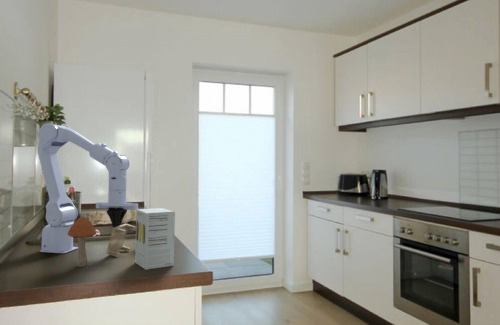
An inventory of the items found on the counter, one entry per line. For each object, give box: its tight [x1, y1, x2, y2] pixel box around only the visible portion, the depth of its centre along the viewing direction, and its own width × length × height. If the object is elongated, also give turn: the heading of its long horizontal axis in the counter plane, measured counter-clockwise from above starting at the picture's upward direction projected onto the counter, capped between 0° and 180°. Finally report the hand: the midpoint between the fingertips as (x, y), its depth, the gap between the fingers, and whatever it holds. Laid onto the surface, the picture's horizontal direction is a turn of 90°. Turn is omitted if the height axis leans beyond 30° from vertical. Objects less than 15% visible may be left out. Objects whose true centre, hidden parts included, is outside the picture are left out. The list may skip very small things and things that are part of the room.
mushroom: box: [68, 216, 97, 268], centre depth 113 cm, size 8×8×15 cm
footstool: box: [106, 223, 136, 258], centre depth 129 cm, size 4×9×9 cm, turn 171°
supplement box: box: [134, 207, 176, 271], centre depth 117 cm, size 10×9×17 cm
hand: (116, 230), depth 130 cm, fingers closed
